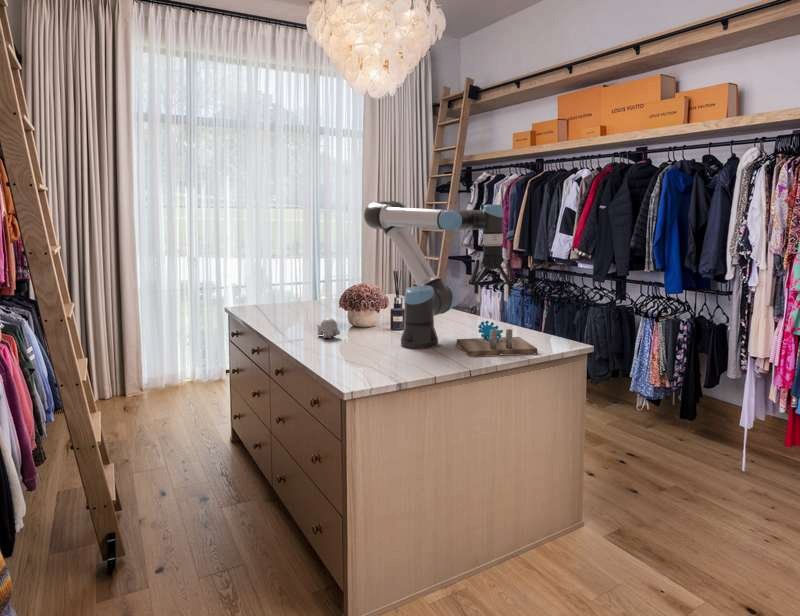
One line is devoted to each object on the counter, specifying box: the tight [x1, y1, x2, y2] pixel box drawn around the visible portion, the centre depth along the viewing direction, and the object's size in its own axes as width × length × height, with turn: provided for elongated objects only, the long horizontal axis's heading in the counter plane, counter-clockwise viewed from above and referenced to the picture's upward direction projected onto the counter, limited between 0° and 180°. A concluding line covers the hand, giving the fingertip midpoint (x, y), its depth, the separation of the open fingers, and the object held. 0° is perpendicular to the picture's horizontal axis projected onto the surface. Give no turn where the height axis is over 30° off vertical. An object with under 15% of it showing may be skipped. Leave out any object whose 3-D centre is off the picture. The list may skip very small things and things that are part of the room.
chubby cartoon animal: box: [316, 317, 341, 339], centre depth 258 cm, size 7×12×8 cm, turn 44°
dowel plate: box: [456, 328, 538, 357], centre depth 232 cm, size 26×22×9 cm
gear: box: [477, 320, 504, 341], centre depth 239 cm, size 11×6×10 cm
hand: (492, 301), depth 235 cm, fingers open, 10 cm apart
